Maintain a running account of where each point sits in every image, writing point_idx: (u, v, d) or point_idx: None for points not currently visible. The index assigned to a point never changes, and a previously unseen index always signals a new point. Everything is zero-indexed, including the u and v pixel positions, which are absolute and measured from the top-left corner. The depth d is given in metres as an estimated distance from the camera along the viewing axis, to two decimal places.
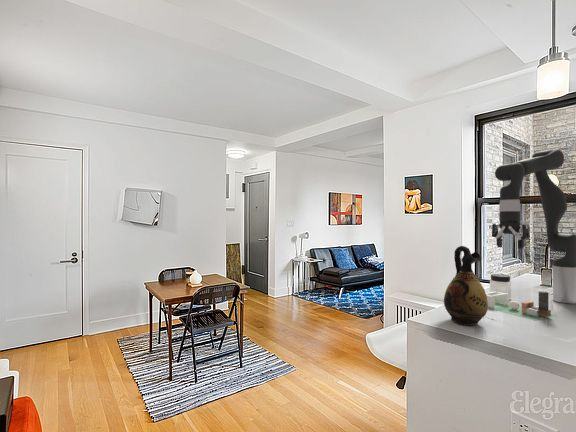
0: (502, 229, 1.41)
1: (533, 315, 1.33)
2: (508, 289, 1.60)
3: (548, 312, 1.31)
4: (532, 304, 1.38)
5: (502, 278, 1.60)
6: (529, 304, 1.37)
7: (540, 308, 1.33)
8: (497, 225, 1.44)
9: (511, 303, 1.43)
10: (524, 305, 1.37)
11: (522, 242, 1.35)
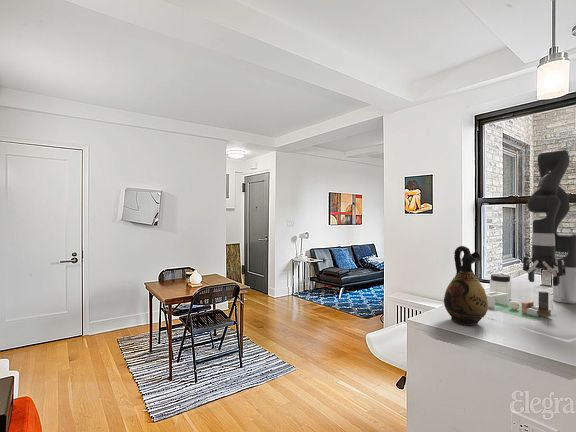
0: (535, 263, 1.34)
1: (533, 315, 1.33)
2: (508, 289, 1.60)
3: (548, 312, 1.31)
4: (532, 304, 1.38)
5: (502, 278, 1.60)
6: (529, 304, 1.37)
7: (540, 308, 1.33)
8: (529, 258, 1.37)
9: (511, 303, 1.43)
10: (524, 305, 1.37)
11: (557, 279, 1.28)
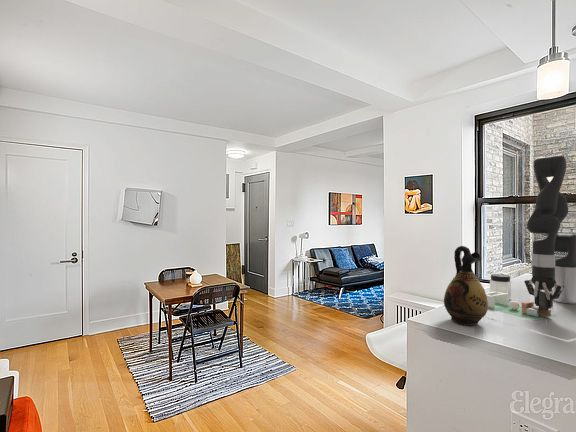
0: (536, 285, 1.33)
1: (533, 315, 1.33)
2: (508, 289, 1.60)
3: (549, 312, 1.31)
4: (532, 304, 1.38)
5: (502, 278, 1.60)
6: (529, 304, 1.37)
7: (540, 308, 1.33)
8: (529, 281, 1.37)
9: (511, 303, 1.43)
10: (524, 305, 1.37)
11: (551, 302, 1.30)
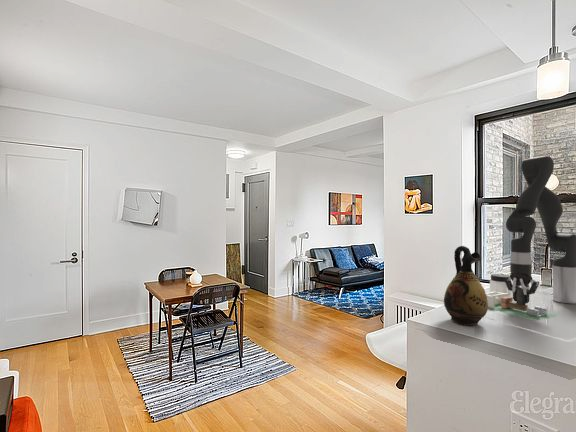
0: (514, 281, 1.41)
1: (533, 315, 1.33)
2: None
3: (525, 306, 1.39)
4: (511, 299, 1.46)
5: (502, 278, 1.60)
6: (508, 299, 1.45)
7: (518, 303, 1.40)
8: (508, 277, 1.45)
9: None
10: (503, 300, 1.45)
11: (527, 297, 1.38)
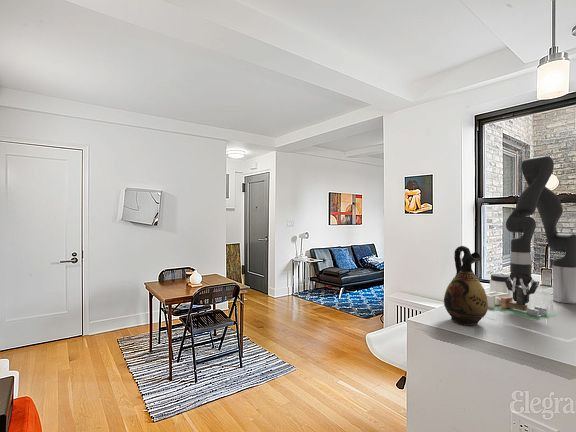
0: (514, 281, 1.41)
1: (533, 315, 1.33)
2: None
3: (525, 306, 1.39)
4: (511, 299, 1.46)
5: (502, 278, 1.60)
6: (508, 299, 1.45)
7: (517, 303, 1.40)
8: (508, 277, 1.45)
9: (495, 303, 1.49)
10: (503, 300, 1.45)
11: (527, 297, 1.38)
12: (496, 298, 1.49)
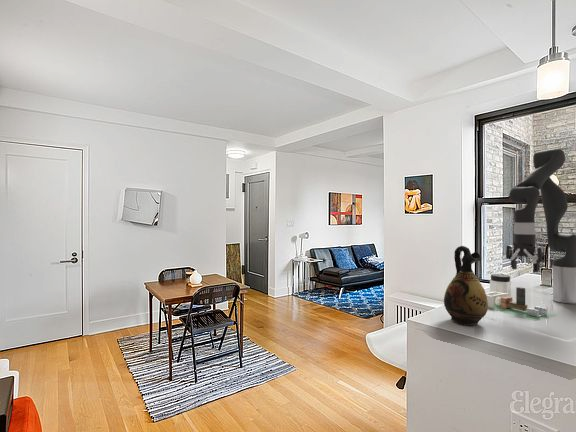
0: (517, 251, 1.41)
1: (533, 315, 1.33)
2: (508, 289, 1.60)
3: (525, 306, 1.39)
4: (511, 299, 1.46)
5: (502, 278, 1.60)
6: (508, 299, 1.45)
7: (517, 303, 1.40)
8: (511, 247, 1.45)
9: (497, 304, 1.48)
10: (503, 300, 1.45)
11: (537, 265, 1.35)
12: None
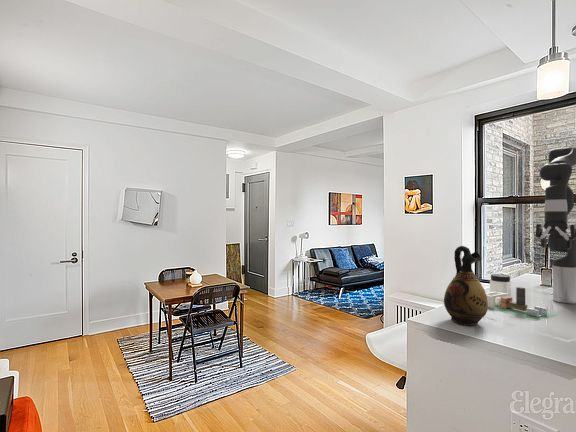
0: (548, 229, 1.39)
1: (533, 315, 1.33)
2: (508, 289, 1.60)
3: (525, 306, 1.39)
4: (511, 299, 1.46)
5: (502, 278, 1.60)
6: (508, 299, 1.45)
7: (517, 303, 1.40)
8: (541, 225, 1.43)
9: (496, 304, 1.49)
10: (503, 300, 1.45)
11: (570, 242, 1.33)
12: None
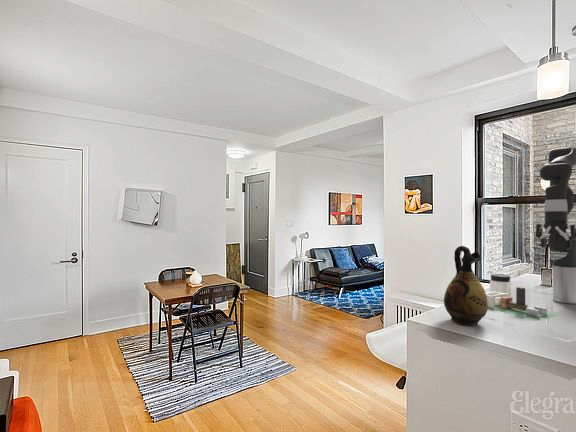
0: (548, 229, 1.39)
1: (533, 315, 1.33)
2: (508, 289, 1.60)
3: (525, 306, 1.39)
4: (511, 299, 1.46)
5: (502, 278, 1.60)
6: (508, 299, 1.45)
7: (517, 303, 1.40)
8: (541, 225, 1.43)
9: (496, 304, 1.49)
10: (503, 300, 1.45)
11: (570, 242, 1.33)
12: (500, 300, 1.48)
